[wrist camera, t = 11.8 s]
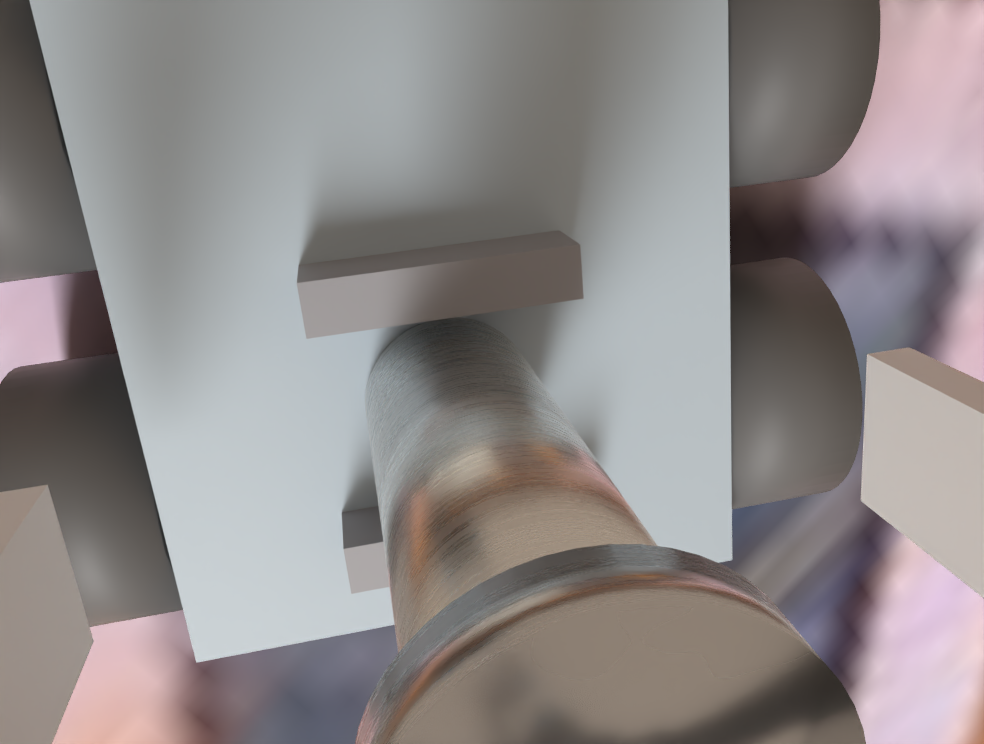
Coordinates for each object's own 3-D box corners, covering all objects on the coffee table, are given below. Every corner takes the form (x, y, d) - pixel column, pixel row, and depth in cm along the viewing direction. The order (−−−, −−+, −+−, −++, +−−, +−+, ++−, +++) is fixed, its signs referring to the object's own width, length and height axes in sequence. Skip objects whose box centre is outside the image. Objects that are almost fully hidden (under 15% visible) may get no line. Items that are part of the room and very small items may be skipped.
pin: (316, 304, 17) (312, 670, 7) (552, 272, 18) (881, 559, 7) (353, 519, 18) (395, 1083, 8) (568, 481, 19) (857, 961, 9)
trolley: (-51, -18, 19) (-261, -67, 12) (761, -88, 22) (969, -161, 15) (106, 546, 24) (19, 743, 17) (759, 434, 27) (916, 565, 20)
